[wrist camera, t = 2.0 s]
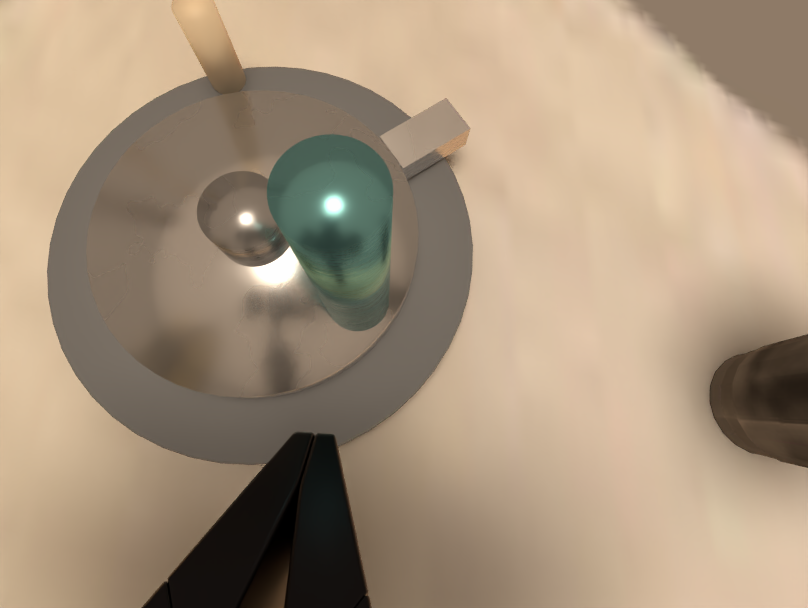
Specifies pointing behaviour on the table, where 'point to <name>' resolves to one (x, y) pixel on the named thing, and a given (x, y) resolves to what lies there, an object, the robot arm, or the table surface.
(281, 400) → the turntable base
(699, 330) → the table surface
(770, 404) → the beverage cup
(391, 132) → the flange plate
